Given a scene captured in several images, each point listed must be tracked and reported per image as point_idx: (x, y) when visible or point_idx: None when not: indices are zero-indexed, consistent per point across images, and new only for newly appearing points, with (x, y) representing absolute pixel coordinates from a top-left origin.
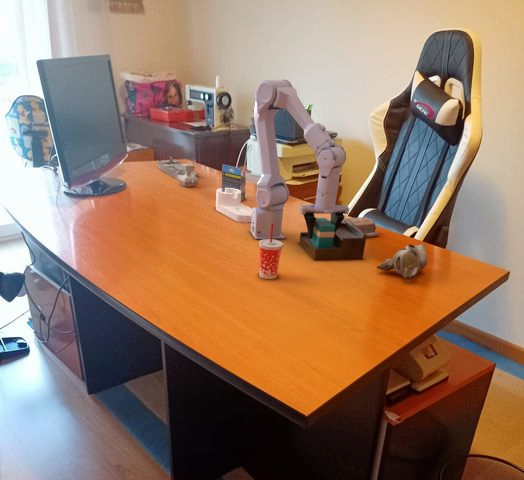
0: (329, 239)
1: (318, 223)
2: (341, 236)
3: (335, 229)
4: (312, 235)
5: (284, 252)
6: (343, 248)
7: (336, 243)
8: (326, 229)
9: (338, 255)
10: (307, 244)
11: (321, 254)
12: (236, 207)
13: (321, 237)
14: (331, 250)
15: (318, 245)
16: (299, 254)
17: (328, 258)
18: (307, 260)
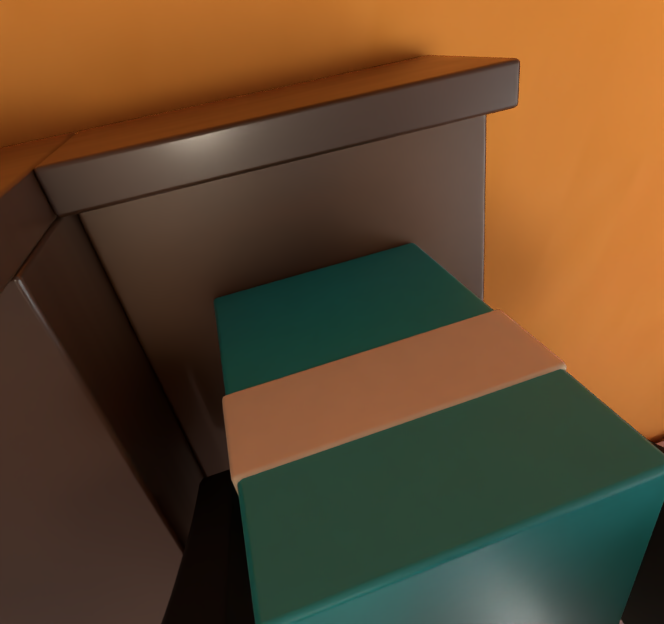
0: (295, 348)
1: (619, 597)
2: (60, 500)
3: (195, 614)
4: None
5: (628, 248)
6: (3, 173)
7: (148, 393)
8: (466, 456)
9: (109, 133)
10: None
11: (385, 72)
12: None
13: (457, 322)
14: (246, 115)
15: (425, 256)
16: (525, 227)
17: (258, 95)
18: (507, 52)
